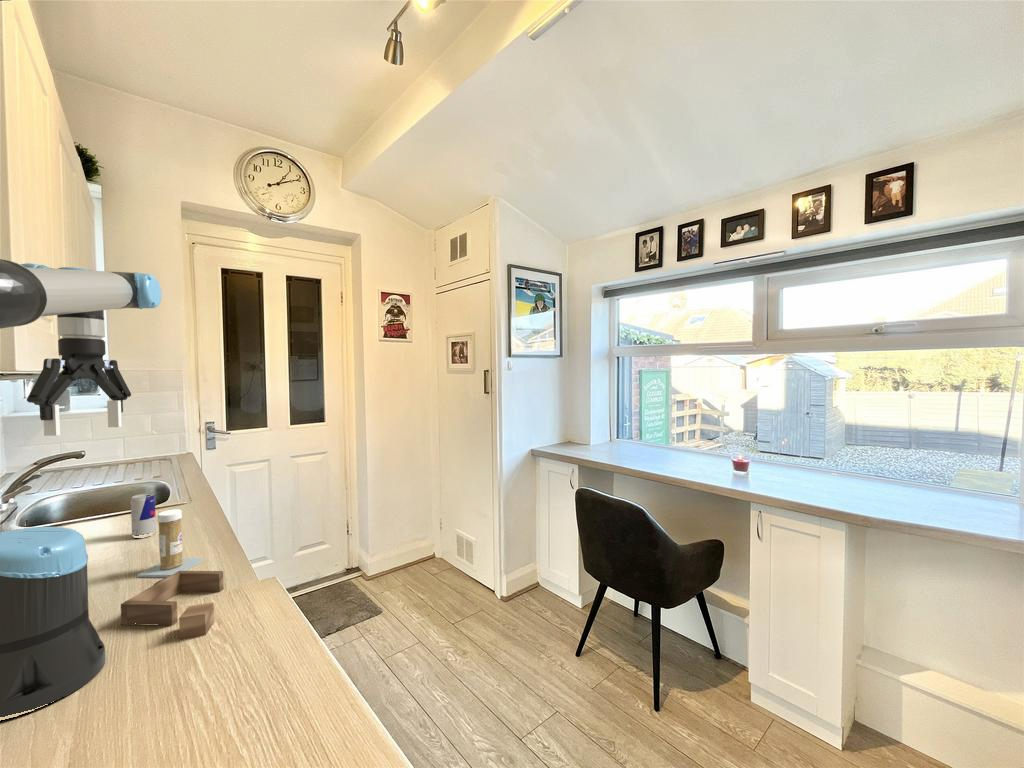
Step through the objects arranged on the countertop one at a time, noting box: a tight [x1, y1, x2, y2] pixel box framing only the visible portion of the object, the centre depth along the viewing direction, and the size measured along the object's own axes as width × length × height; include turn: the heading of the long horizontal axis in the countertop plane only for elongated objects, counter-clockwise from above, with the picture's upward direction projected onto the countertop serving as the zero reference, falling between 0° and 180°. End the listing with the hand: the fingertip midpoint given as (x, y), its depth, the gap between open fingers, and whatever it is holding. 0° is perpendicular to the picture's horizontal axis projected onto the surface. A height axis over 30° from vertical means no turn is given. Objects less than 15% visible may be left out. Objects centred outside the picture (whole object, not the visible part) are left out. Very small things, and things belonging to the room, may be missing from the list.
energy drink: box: [130, 492, 157, 536], centre depth 124 cm, size 5×5×12 cm
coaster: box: [136, 557, 205, 579], centre depth 103 cm, size 9×9×1 cm
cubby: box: [120, 570, 225, 626], centre depth 86 cm, size 13×10×4 cm
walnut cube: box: [178, 602, 215, 640], centre depth 78 cm, size 4×4×4 cm
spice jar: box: [157, 509, 184, 570], centre depth 102 cm, size 5×5×14 cm
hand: (85, 431), depth 96 cm, fingers open, 13 cm apart
